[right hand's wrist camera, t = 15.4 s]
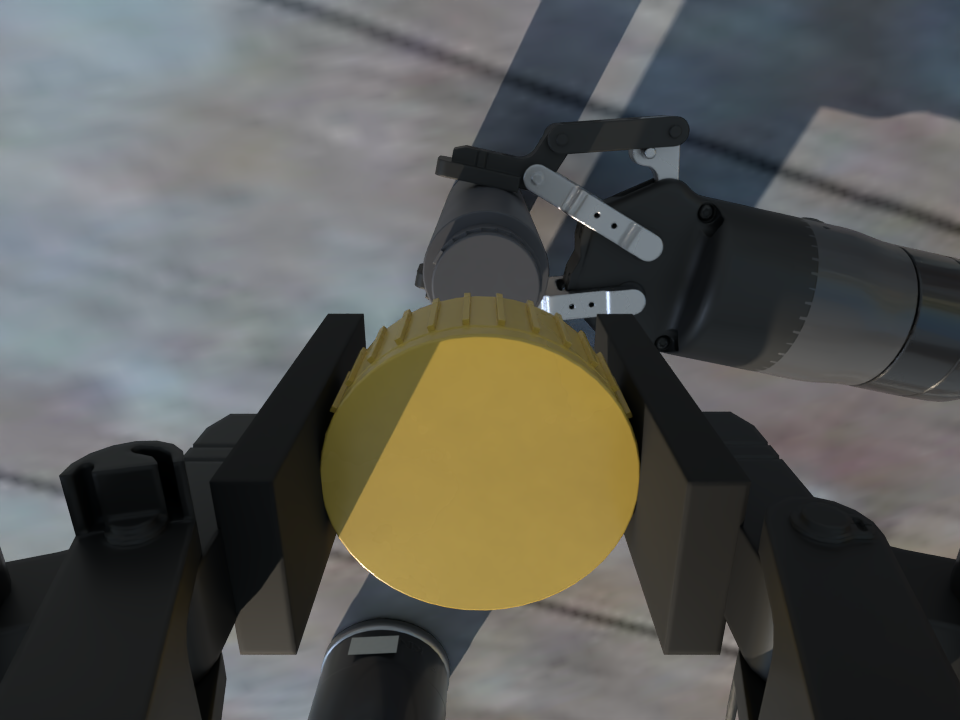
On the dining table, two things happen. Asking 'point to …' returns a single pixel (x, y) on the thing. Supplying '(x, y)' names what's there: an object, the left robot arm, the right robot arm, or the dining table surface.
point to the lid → (480, 455)
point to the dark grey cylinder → (485, 247)
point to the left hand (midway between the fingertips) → (428, 222)
